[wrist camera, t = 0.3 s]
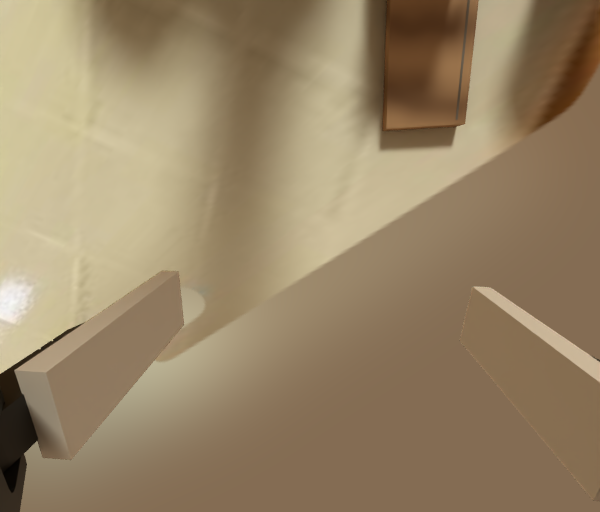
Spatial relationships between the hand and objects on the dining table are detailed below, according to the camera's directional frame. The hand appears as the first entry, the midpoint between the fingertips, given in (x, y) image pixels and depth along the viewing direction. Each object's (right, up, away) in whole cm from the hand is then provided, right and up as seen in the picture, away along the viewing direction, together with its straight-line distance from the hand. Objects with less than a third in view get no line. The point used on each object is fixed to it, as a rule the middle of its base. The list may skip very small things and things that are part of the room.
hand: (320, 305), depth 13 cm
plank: (+13, +28, +19) cm, 37 cm away
